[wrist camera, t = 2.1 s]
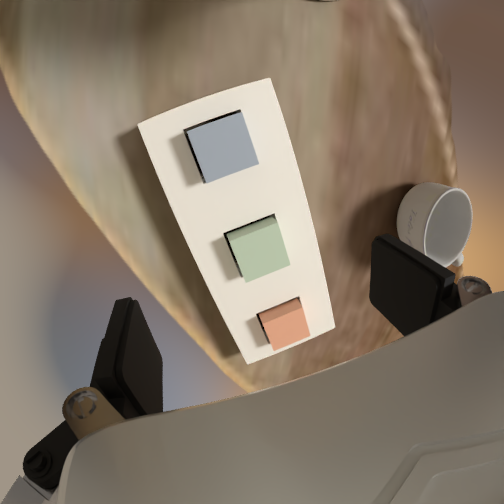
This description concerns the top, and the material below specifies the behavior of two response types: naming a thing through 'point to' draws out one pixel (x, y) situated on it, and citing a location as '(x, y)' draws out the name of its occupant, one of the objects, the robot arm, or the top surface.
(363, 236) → the top surface
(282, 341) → the terracotta button
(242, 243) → the sage button
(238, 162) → the slate button
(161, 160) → the button panel
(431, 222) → the teacup
